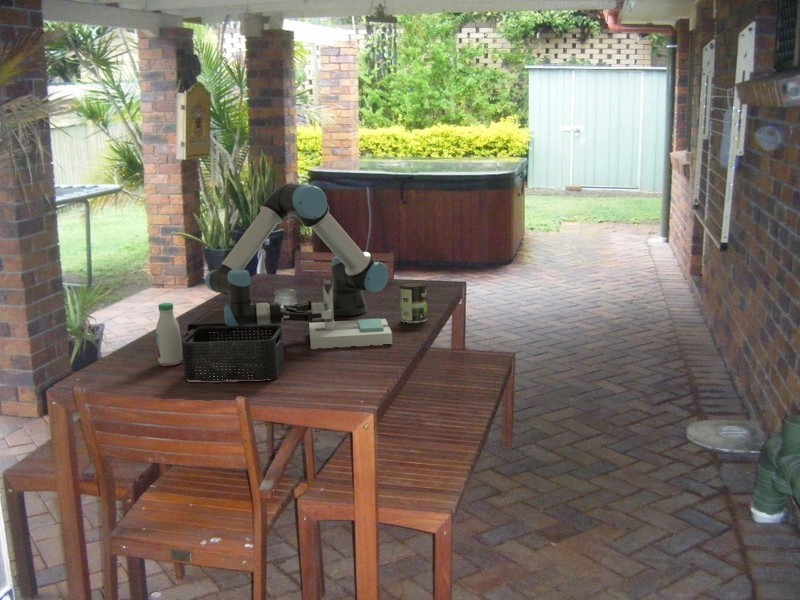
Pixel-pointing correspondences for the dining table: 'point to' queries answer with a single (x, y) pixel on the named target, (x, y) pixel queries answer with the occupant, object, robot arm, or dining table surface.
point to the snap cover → (370, 325)
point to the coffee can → (413, 302)
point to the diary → (209, 320)
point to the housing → (347, 335)
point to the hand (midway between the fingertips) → (330, 310)
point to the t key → (328, 304)
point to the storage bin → (234, 353)
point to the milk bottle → (168, 335)
